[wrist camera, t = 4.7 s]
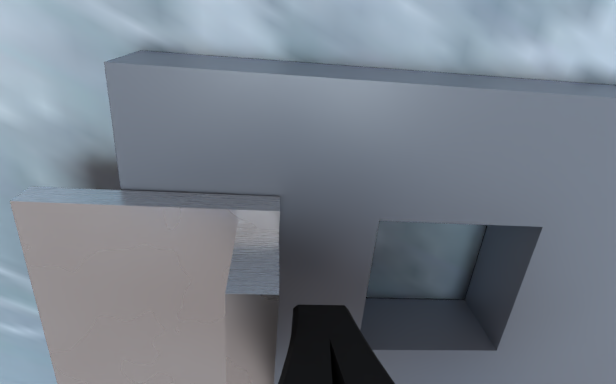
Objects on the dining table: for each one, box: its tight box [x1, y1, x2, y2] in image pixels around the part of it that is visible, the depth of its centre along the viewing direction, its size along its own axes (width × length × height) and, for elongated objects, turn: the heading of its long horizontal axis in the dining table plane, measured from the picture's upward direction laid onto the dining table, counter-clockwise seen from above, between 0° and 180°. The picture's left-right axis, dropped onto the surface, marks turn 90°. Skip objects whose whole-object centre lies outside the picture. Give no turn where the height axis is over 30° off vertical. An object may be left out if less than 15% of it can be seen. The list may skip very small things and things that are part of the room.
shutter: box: [10, 186, 280, 384], centre depth 10 cm, size 6×6×3 cm
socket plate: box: [104, 50, 616, 384], centre depth 14 cm, size 14×22×2 cm, turn 86°
